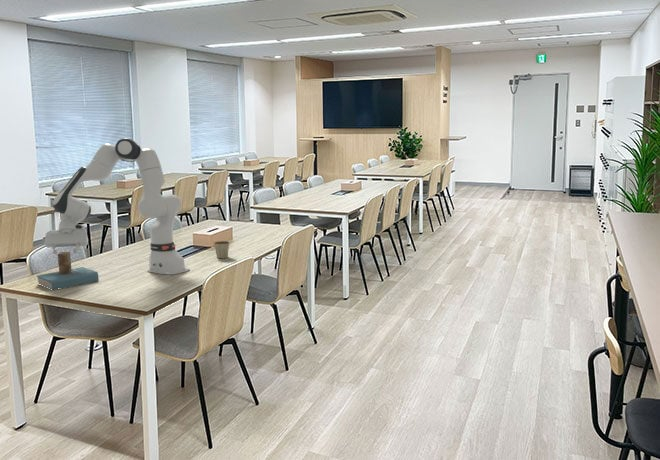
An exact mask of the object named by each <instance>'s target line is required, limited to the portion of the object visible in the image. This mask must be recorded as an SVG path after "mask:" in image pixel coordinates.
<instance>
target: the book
mask: <svg viewBox="0 0 660 460" xmlns="http://www.w3.org/2000/svg"><path fill="white" fill-rule="evenodd" d="M71 270H72V272H71V273H70V274H61V275H59V270H58V271H54V272H48V273H43V274H39V275H38V274H37V275H36V278H37V284H38V283H39V284H41V285H43V286H45V287H48V288H50V289H52V290H53V291H55V290H54V289H57V290H59V289H58V288H62V289H65V288H64V287H67V288H70V286H72V287H76V286H81V285H84V284H85V283H86V284H90V283H94V282H99V281H100V279H99V278H100V277H99V272H98V271H95V270H92V269H90V268H87V267H85V266H80V267H75V268H71ZM89 282H90V283H89ZM80 284H81V285H80ZM75 285H76V286H75ZM45 287H44V288H45ZM50 289H49V290H50ZM52 290H51V291H52Z"/></svg>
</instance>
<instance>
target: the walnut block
mask: <svg viewBox="0 0 660 460" xmlns="http://www.w3.org/2000/svg"><path fill="white" fill-rule="evenodd" d="M71 260H72V259H71V251H63V252H62V251H60V252H58V253H57V263H58V271H59V275H61V274H70V273H71V272H72V270H71V269H72V261H71Z"/></svg>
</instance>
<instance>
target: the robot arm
mask: <svg viewBox="0 0 660 460" xmlns="http://www.w3.org/2000/svg"><path fill="white" fill-rule="evenodd" d="M119 161H121V162H128V163H133V162H136V164H137V167H138V169H139V173H140V176H141V177H140V178H141V182H142V188H143V190H142V196H141V198H140V200H139V201H138V204H137V212H138V214H140V216H141V217H143V218H145V219H155V218H156V219H155V221H154V223H153V224H152V226H151V227H150V245H149V246H150V250H151V251H150V254H149V259H148V260H149V264H148V265H149V266H148V269H147V272H148V273H154V274H161V275H166V276H170V275H177V274H183V273H186V272H189V271H190V267H188V266H186V265H185V259H184V257H183V256H181V255H180V253H179V252H178V251H177V250H176V247H177V246H176V244H175V242H174V241H173V240H174V239H173V238H174V236H173V234H174V233H173V226H174V222H175V218H176V217H177V214H178V213H179V211H180V210H181V207H182V201H181V198H180V197H179V196H178V195H176V194H170V193H169V194H168V193H166V194H162V193H161V191H162V190H161V189H162V188H163V186H164V184H165V183H166V182H165V181H166V180H165V177H164V176H165V175H164V172H163V168H162V165H161V164H162V163H161V162H160V159H159V157H158V153H156V150H154V149H152V148H142V147H141V146H140V145H139V144H138V142H136V141H135V140H134V139H132V138H129V137H125V138H124V137H122V138H121V139H119V140H117V142H116V143H115V145H113V144H111V143H104V144H102V145H101V146H100V147H99V148H98V150H97V151H96V152H95V153H94V155H93V157H92V159H91V161H90V162H89V163H88V164H87V165H85V166H81V167H79V169H77V170H76V171H75V172H74V174H73V176H72V177H71V178H70V179H69V180H68V181H67V183H66V185H65V186H64V187H63V188H62V190H61V191H59V192H58V193H57V195H56V196H55V197H54V199H53V200H52V204H51V205H52V207H53V209H54V211H55V212H56V213H60V216H59V217H60V219H59V220H60V221H59V223H58V230H49V231H47V232H46V233H45V235H44V236H45V239H44V243H43V244H44V246H45V247H46V248H47V249H48V248H51V249H52V250H53V251H52V253H53V255H58V250H57V249H56V248H66V247H67V248H69V247H71V248H72V247H75V248H73V251H72V252H73V254H78V250H80V249H81V247H86V246H88V245H89V238H88V234H87V233H88V231H87V228H86V227H85V226H84V225H82V224H79V223H82V222H84V221H86V220H87V219H89V218H90V217H91V213H92V206H91V205H90V203H88V202H87V201H84V200H82V199H80V198H76V197H74V196H72V194H73V193H74V192H75V191H76V189H77V188H78V187H79V185H80V184H82V183H83V182H85V181H97V182H100V181H104V180H107V179H108V178H109V177H110V176H111V174H112V172H113V170H114V168H115V166H116V164H117V163H118V162H119Z"/></svg>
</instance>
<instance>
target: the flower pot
mask: <svg viewBox="0 0 660 460" xmlns="http://www.w3.org/2000/svg"><path fill="white" fill-rule="evenodd" d="M230 244H231V242H230V241H228V240H220V241H215V242H213V245H214V249H215V255H216V258H218V259H227V258H228V257H229V247H230Z"/></svg>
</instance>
